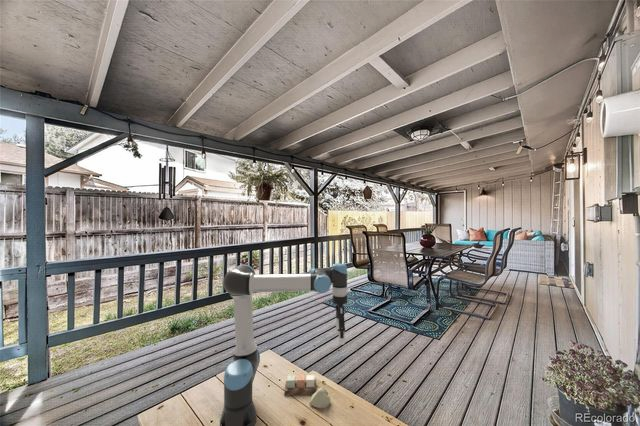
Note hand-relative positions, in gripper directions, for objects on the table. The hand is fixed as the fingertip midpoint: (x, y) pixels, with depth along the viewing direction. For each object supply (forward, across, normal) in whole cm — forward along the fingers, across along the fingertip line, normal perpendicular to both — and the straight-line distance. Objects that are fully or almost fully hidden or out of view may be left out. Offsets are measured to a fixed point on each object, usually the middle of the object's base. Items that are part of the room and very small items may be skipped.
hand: (340, 337), depth 122 cm
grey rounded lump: (+28, -5, +10) cm, 30 cm away
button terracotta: (+26, +5, +20) cm, 33 cm away
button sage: (+26, +4, +25) cm, 36 cm away
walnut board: (+28, +4, +20) cm, 35 cm away
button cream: (+26, +4, +15) cm, 30 cm away
